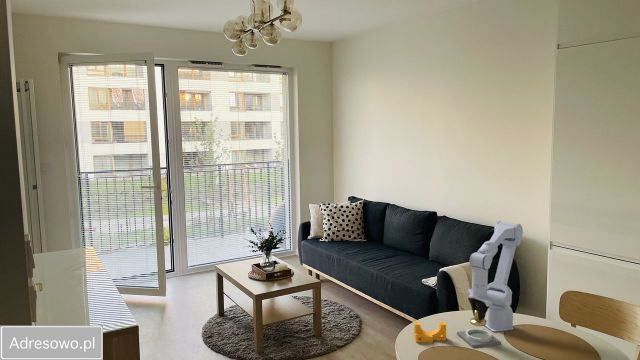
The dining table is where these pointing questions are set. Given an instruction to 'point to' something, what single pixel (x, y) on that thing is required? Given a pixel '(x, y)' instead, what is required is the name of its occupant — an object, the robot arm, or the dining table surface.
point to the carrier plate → (478, 337)
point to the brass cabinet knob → (477, 320)
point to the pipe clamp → (429, 333)
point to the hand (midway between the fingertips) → (478, 317)
